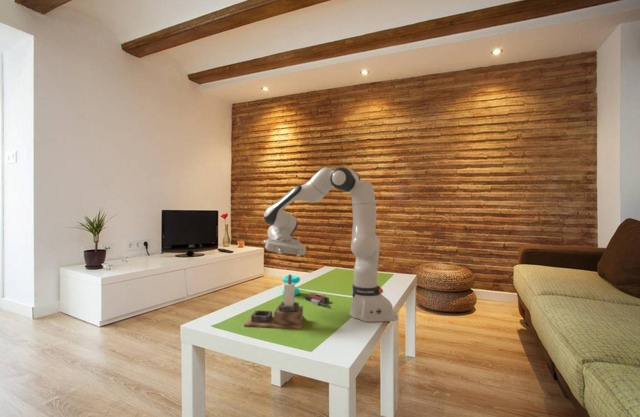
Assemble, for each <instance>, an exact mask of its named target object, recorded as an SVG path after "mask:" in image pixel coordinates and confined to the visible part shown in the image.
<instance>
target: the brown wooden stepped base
mask: <svg viewBox="0 0 640 417" xmlns="http://www.w3.org/2000/svg"><path fill="white" fill-rule="evenodd" d="M304 320H305V315H304V305H300V302H297V301H294V307H289V306H284V301H282V302H280V304H278V306H277V307H276V309H274V313H273V311H272V310H255V311H254V312H253V313H252V314H251V315H250V316H249V317H248V319H246V321H245V322H244V324H243V326H244V327H246V328H247V327H250V328H251V327H252V328H253V327H254V328H268V329H269V328H273V329H274V328H275V329H294V330H301V329H302V326H303V322H304Z"/></svg>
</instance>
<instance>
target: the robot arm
mask: <svg viewBox="0 0 640 417" xmlns="http://www.w3.org/2000/svg"><path fill="white" fill-rule="evenodd" d="M333 188H334V189H336V190H339V191H342V192H348V193H349V194H350V196H351V206H352V207H351V208H352V229H351V243H350V249H351V252H352V254H353V255H354V256H355V263H354V266H353V284H352V286H351V287H352V288H351V297H352V300H351V301H352V302H351V306H350V310H349V312H348V313H349V316H350V317H352V318H355V319H358V320H361V321H362V322H365V323H369V322H372V323H375V322H397V320H398V319H399V316H398V313H397V312H396V311H395V310H394V308H393V305H392V303H391V301H390V299H388V298H387V297H386V296H384V295H383V293H384V289H383V288H382V287H381V286H380V285H378V267H379V258H380V247H381V241H380V238H379V236H378V235H376V231H377V230H376V226H377V209H376V208H377V207H376V195H375V190H374V187H373V184H372V182H370V181H367V180H364V179H363V180H361V177H360V175H359V174H358V173H357V171H355V170H353V169H351V168H349V167H348V168H347V167H344V166H340V167H339V166H338V167H336V168H334V169H332V168H331V167H329V166H328V167H322V168H320V170H318V172H316V173H314V174H313V176H312V177H311V178H310V179H309V180H308V181H307V182H305V183H303V184H301V185H295V186H294V187H293V188H291V189H290V190H289V191H287V192H286V193H285V194H284V195H283V196H282V197H281V198H279V199H278V200H276V202H274V203H272V204H271V205H270V206H268V207H267V208H266V209H265V211H264V213H263V219H264V221H265V223H266V224H268V225H270V226H269V228H267V237H268V238H266V239H263V240H262V242H263V243H264V244H265V245H264V248H265V250H267V251H268V252H275V253H277V254H278V255H283V254H290V255H296V257H299V258H300V257H301V256H305V254H306V251H307V248H306V246H305V245H304V244H303V243H302V242H300V239H299V238H297V237H293V235H294V233H295V232H296V230H298V229H297V228H298V219H297V217H295V216H294V215H292V214H290V213H289V212H287V211H286V210H284V209H285V208H287V207H288V206H290V204H291V203H293V202H296V201H300V202H301V201H302V202H308V203H317V202H320V201H321V200H323V198H324V197H326V195H327V194H328V193H329V192H330V191H331V190H332V189H333Z"/></svg>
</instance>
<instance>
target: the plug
mask: <svg viewBox="0 0 640 417" xmlns="http://www.w3.org/2000/svg"><path fill="white" fill-rule="evenodd" d="M291 275H292V274H288V275H287V276H288V283H284V286H283V289H284V294H283V302H284V306H289V307H294V302H295V296H296V295H295V287H296V284H295V283H291Z"/></svg>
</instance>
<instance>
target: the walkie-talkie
mask: <svg viewBox="0 0 640 417" xmlns="http://www.w3.org/2000/svg"><path fill="white" fill-rule="evenodd" d="M304 299H305V300H307V301H309V302H311V304H313V305H316V306H319V305H320V306H323V307H328V308H332V307H331V305H330V304H328V303H330V298H329V297H327V296H326V295H325V294H322V293H320V292H319V293H316V292H313V293H309V294H308V293H307V295H306V296H305V297H304Z"/></svg>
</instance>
